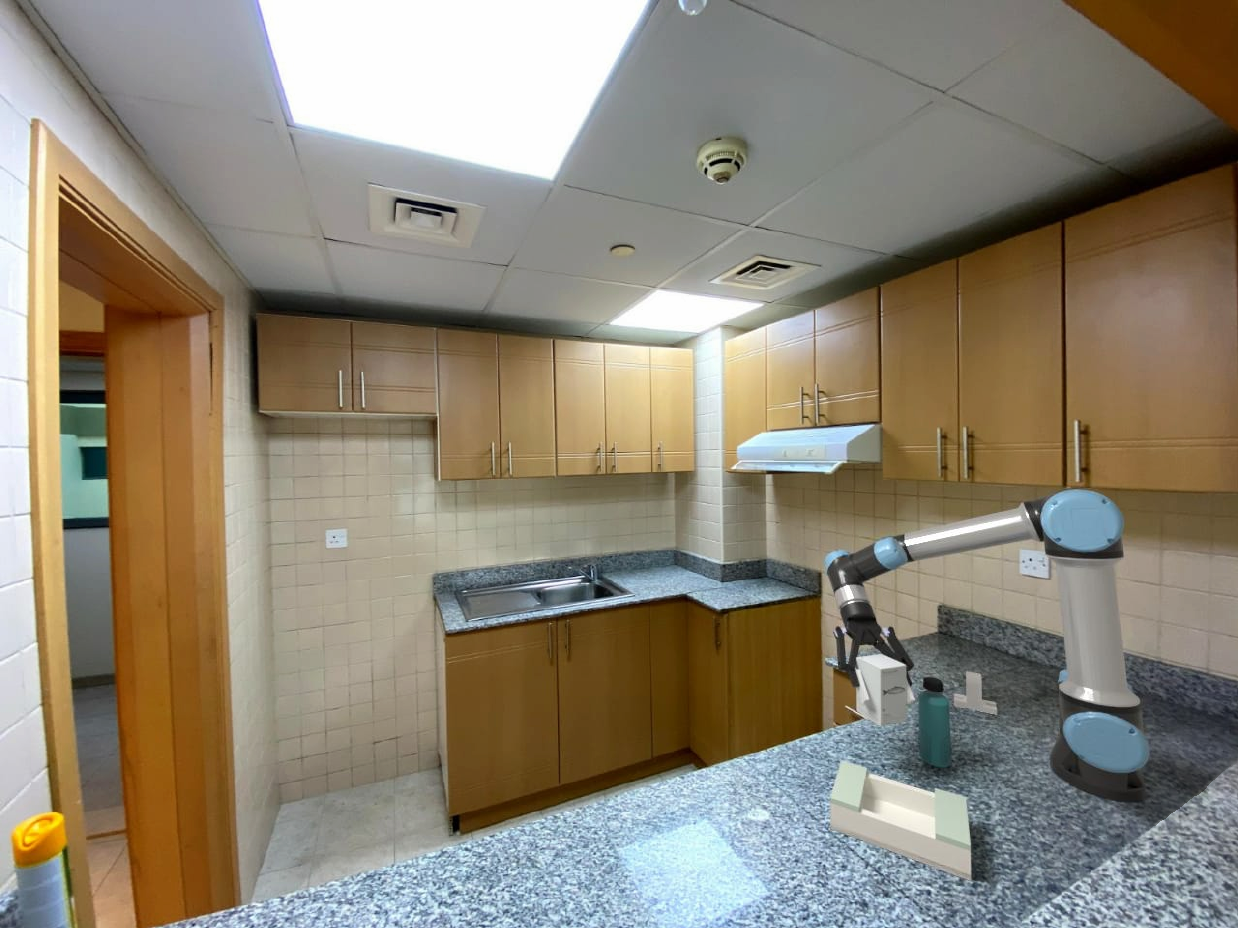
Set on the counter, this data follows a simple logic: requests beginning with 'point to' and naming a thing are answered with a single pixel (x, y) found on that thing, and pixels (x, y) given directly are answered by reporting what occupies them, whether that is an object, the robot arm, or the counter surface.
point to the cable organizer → (974, 696)
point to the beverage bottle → (934, 724)
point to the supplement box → (883, 689)
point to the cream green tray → (902, 819)
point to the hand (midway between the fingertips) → (888, 701)
